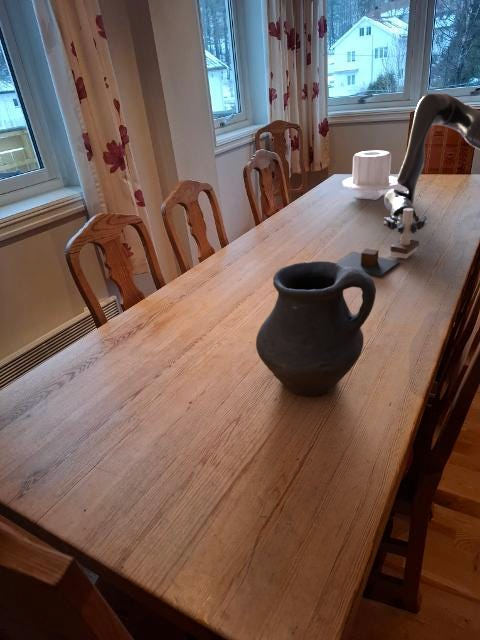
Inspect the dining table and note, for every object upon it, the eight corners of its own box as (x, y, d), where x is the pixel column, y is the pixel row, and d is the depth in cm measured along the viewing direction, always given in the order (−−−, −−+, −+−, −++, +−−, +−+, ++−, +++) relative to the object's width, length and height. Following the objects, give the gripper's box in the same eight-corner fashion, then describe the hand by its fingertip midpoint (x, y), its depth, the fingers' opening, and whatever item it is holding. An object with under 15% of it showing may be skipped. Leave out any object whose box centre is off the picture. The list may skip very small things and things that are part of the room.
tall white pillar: (402, 247, 142) (406, 204, 135) (418, 250, 139) (423, 206, 132) (390, 255, 137) (393, 211, 130) (406, 259, 134) (411, 214, 127)
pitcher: (277, 345, 100) (271, 243, 87) (374, 358, 92) (383, 248, 79) (246, 402, 83) (233, 287, 71) (360, 424, 76) (369, 299, 63)
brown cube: (377, 262, 134) (378, 250, 132) (373, 266, 131) (374, 254, 129) (365, 260, 136) (365, 248, 134) (360, 265, 133) (361, 252, 131)
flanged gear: (404, 191, 203) (408, 148, 193) (388, 205, 185) (392, 159, 176) (353, 188, 216) (355, 148, 206) (333, 201, 198) (334, 158, 189)
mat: (399, 263, 133) (399, 261, 132) (380, 277, 126) (380, 275, 125) (353, 253, 143) (353, 251, 142) (333, 265, 136) (333, 264, 135)
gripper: (382, 203, 145) (384, 219, 131) (426, 202, 142) (434, 218, 127) (380, 224, 149) (382, 242, 135) (423, 224, 146) (430, 242, 131)
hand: (407, 230), depth 131 cm, fingers closed on tall white pillar, 3 cm apart
